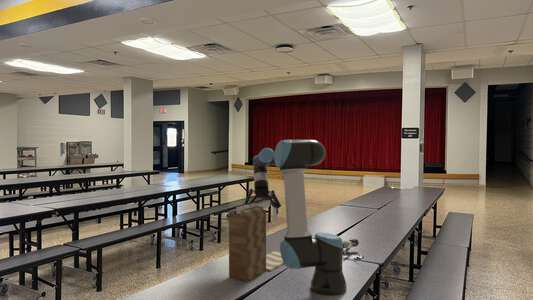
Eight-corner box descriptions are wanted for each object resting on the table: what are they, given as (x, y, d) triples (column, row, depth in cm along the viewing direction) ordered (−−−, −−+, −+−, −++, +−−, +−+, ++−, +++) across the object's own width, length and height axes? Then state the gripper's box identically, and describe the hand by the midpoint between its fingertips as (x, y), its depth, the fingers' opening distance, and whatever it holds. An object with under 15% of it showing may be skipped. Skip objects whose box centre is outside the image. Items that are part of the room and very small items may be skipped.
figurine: (301, 242, 212) (348, 231, 220) (303, 254, 212) (349, 243, 220) (317, 254, 190) (368, 241, 198) (319, 267, 191) (369, 255, 198)
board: (275, 252, 206) (275, 250, 206) (296, 256, 198) (296, 255, 198) (247, 265, 185) (247, 263, 185) (270, 271, 177) (270, 269, 177)
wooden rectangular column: (249, 267, 183) (249, 204, 182) (266, 271, 177) (266, 206, 176) (229, 277, 170) (228, 210, 169) (246, 282, 164) (245, 212, 163)
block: (265, 205, 187) (265, 199, 187) (270, 206, 186) (270, 200, 186) (236, 213, 168) (235, 207, 167) (241, 214, 166) (241, 208, 166)
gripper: (279, 186, 207) (282, 222, 197) (237, 182, 199) (238, 220, 189) (284, 181, 200) (288, 218, 190) (241, 177, 192) (242, 216, 182)
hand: (263, 219), depth 190 cm, fingers open, 13 cm apart
